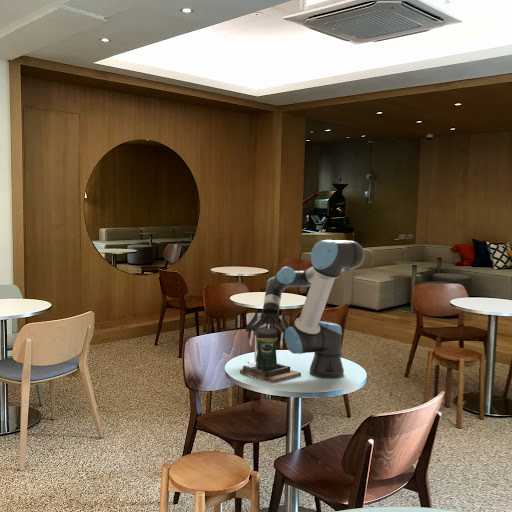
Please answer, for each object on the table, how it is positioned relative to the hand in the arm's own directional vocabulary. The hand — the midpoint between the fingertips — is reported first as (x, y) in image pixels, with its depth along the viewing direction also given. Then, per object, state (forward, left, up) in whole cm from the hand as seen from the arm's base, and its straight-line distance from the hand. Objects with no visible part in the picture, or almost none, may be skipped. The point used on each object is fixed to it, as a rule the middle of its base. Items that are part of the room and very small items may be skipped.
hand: (265, 345), depth 247 cm
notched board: (-1, -2, -13) cm, 13 cm away
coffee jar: (+1, -2, -12) cm, 12 cm away
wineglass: (+19, -13, -13) cm, 27 cm away
